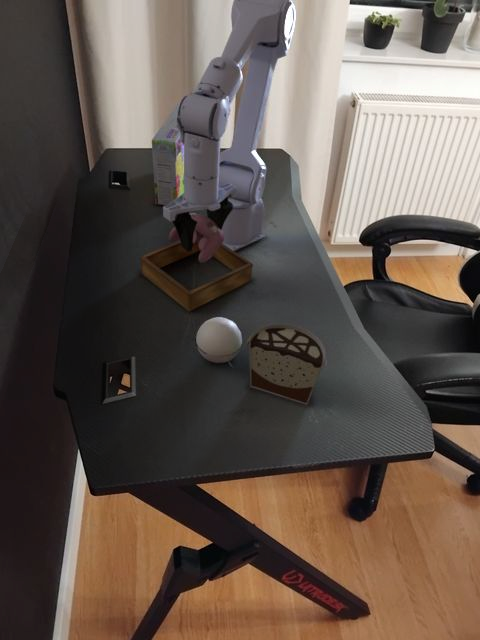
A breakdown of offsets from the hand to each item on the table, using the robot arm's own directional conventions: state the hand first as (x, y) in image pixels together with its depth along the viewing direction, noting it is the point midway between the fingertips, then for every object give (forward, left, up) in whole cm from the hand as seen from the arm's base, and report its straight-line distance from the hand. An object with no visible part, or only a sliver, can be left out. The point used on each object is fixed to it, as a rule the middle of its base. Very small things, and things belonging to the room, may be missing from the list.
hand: (200, 242), depth 102 cm
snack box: (-20, -31, -8) cm, 38 cm away
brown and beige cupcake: (+7, +29, -8) cm, 31 cm away
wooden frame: (0, -1, -8) cm, 8 cm away
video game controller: (0, -1, -2) cm, 2 cm away
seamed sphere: (+12, +19, -8) cm, 24 cm away
